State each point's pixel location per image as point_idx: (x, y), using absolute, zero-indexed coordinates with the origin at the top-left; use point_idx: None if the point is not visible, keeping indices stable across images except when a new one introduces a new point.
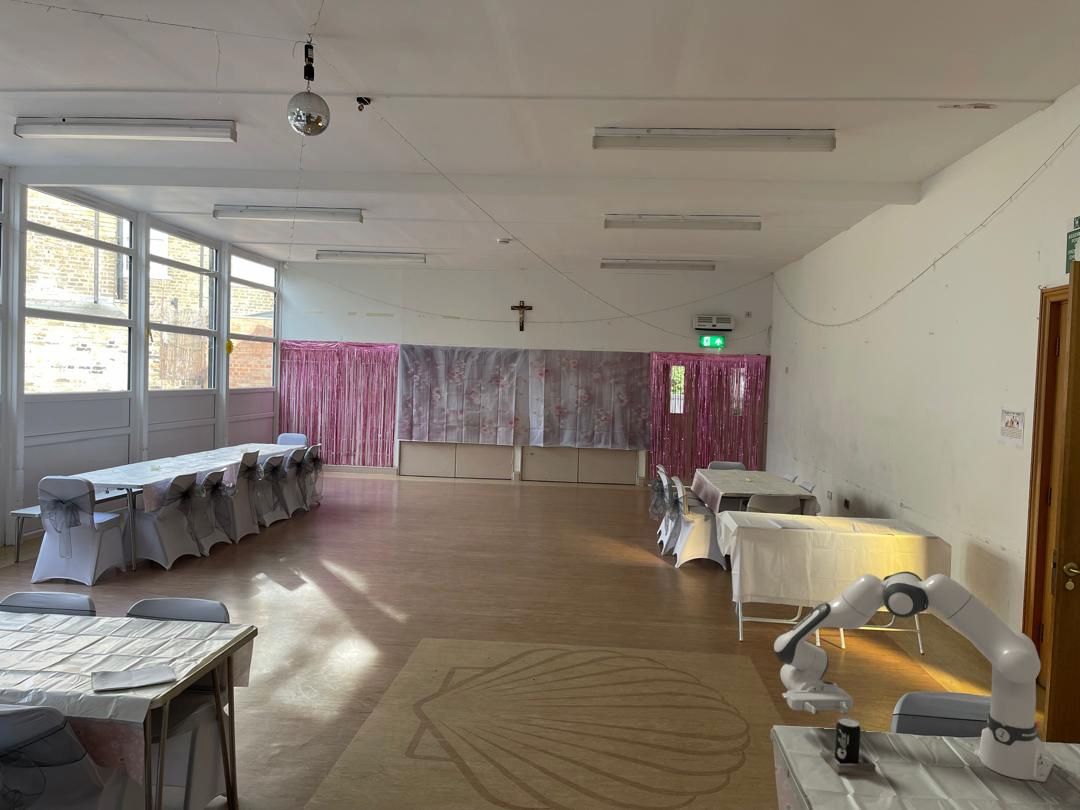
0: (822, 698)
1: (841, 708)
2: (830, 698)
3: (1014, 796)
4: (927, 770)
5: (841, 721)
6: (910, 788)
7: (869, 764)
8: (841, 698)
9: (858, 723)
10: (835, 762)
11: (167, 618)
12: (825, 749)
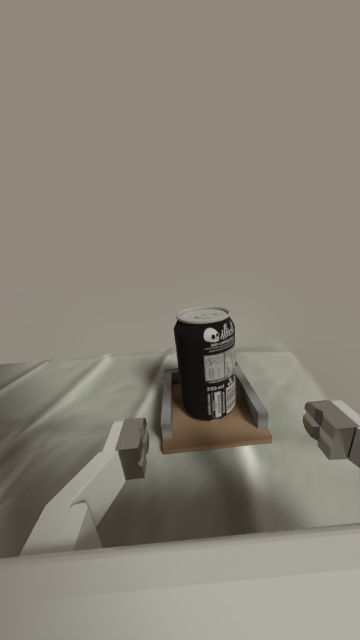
0: (300, 555)
1: (142, 442)
2: (175, 564)
3: (15, 367)
4: (50, 406)
5: (220, 316)
6: (136, 365)
7: (175, 369)
8: (6, 578)
9: (179, 314)
10: (240, 370)
11: None
12: (258, 405)
